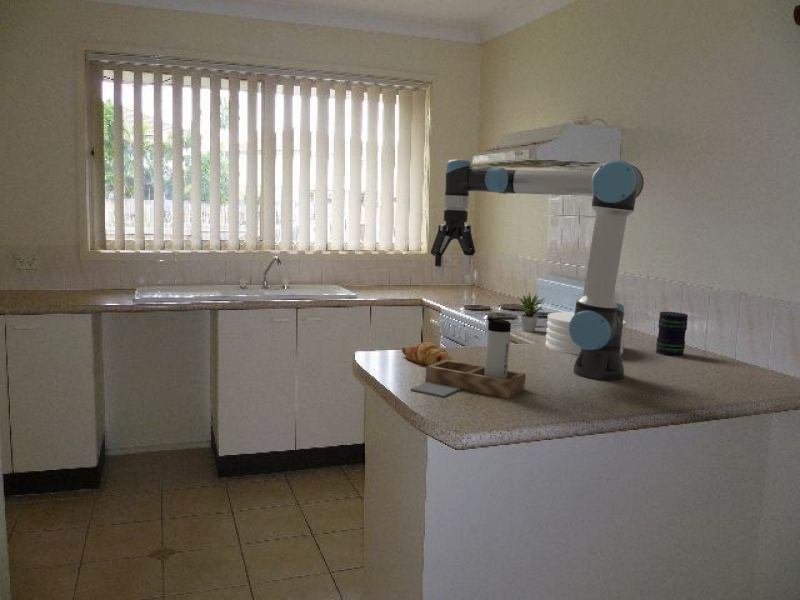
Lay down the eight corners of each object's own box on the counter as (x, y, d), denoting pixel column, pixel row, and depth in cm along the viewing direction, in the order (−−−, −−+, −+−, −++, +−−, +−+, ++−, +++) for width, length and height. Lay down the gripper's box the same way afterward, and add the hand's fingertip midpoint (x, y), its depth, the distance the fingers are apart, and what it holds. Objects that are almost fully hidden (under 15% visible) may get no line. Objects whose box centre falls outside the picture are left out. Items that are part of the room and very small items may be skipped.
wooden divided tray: (524, 389, 196) (525, 373, 196) (508, 398, 186) (509, 381, 185) (444, 374, 209) (445, 359, 208) (425, 381, 199) (426, 366, 198)
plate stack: (638, 356, 251) (641, 325, 249) (567, 357, 244) (569, 324, 242) (597, 341, 278) (600, 312, 276) (532, 340, 271) (535, 311, 269)
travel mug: (480, 385, 197) (485, 315, 195) (503, 386, 198) (508, 316, 195) (484, 392, 191) (489, 319, 188) (508, 392, 192) (513, 320, 189)
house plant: (544, 335, 282) (548, 295, 279) (510, 332, 285) (513, 292, 283) (547, 330, 295) (550, 291, 293) (514, 327, 299) (517, 289, 297)
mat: (460, 389, 192) (460, 388, 192) (443, 397, 183) (443, 395, 183) (428, 383, 197) (428, 381, 197) (410, 390, 188) (410, 388, 188)
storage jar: (654, 354, 256) (659, 314, 254) (655, 349, 265) (659, 310, 263) (683, 358, 253) (688, 317, 250) (684, 353, 262) (688, 313, 260)
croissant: (458, 378, 219) (467, 354, 221) (443, 367, 212) (452, 343, 214) (406, 364, 233) (414, 342, 234) (390, 354, 225) (398, 331, 227)
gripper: (469, 210, 234) (466, 273, 237) (421, 207, 216) (418, 276, 219) (488, 210, 229) (484, 275, 232) (440, 208, 211) (436, 278, 214)
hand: (452, 276), depth 225 cm, fingers open, 13 cm apart
